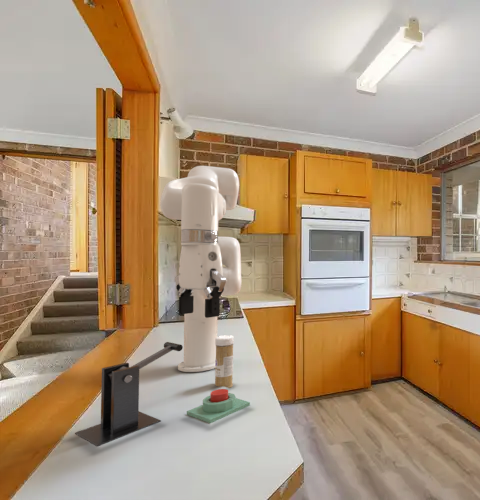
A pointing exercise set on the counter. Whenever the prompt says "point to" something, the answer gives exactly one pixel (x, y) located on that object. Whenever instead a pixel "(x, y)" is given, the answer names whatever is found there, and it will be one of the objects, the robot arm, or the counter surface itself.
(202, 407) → the control block
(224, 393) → the button
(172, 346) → the lever handle
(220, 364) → the sprinkles bottle
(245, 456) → the counter surface
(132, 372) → the lever bracket
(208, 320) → the robot arm
